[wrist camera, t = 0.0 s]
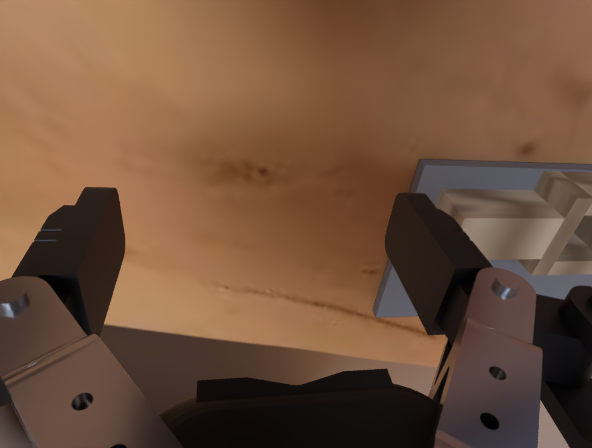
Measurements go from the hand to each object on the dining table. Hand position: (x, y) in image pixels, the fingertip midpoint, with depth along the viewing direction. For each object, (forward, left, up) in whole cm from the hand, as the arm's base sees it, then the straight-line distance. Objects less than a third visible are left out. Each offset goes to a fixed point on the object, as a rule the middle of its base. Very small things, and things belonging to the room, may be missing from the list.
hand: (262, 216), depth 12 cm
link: (+11, +24, -16) cm, 31 cm away
